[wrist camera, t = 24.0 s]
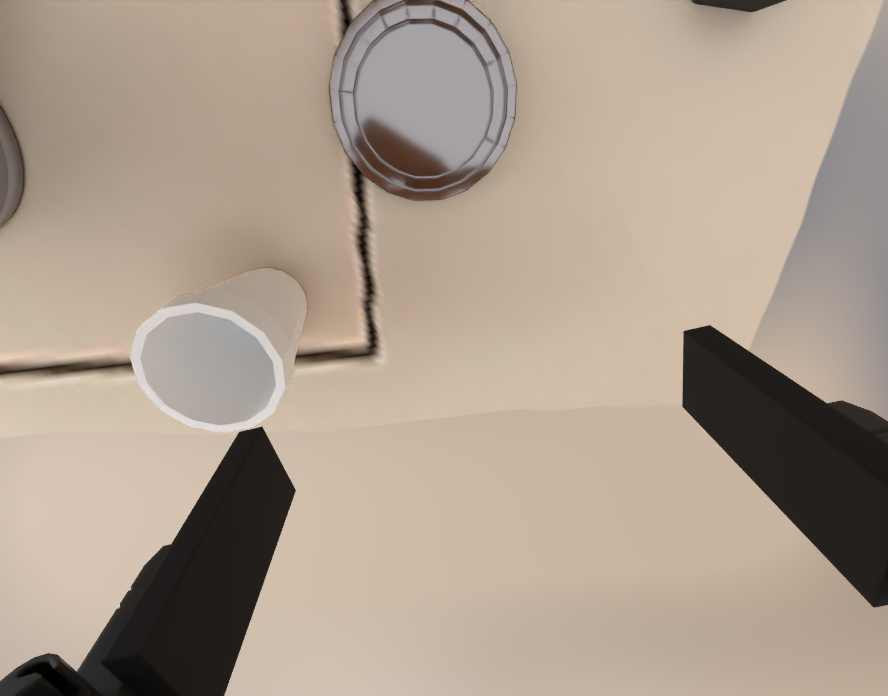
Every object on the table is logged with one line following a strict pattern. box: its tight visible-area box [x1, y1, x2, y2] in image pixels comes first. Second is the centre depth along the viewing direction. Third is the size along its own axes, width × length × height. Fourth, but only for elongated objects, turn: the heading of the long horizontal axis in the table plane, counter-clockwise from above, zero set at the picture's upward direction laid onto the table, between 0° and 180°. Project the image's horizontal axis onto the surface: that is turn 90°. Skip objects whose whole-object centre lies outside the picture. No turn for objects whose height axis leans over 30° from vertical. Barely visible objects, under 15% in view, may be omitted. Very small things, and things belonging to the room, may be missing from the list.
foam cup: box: [129, 267, 307, 433], centre depth 34 cm, size 10×9×13 cm
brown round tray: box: [329, 0, 517, 201], centre depth 32 cm, size 13×13×2 cm
